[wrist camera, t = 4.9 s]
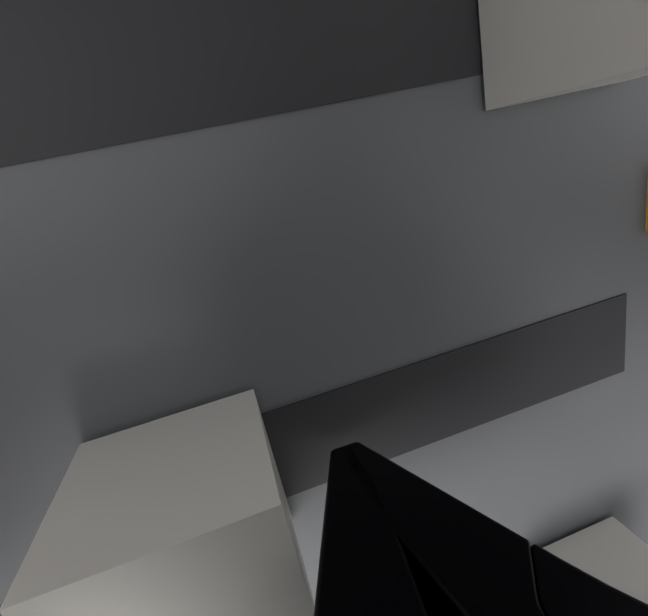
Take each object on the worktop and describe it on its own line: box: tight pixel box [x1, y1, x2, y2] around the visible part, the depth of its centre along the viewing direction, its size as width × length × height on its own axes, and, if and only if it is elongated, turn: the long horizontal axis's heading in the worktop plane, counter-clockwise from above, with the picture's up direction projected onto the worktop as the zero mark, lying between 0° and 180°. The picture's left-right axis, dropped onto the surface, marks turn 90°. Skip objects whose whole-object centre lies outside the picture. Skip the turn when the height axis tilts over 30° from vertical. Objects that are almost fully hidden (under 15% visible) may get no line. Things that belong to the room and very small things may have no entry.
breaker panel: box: [0, 0, 648, 616], centre depth 9 cm, size 22×17×4 cm
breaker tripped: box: [0, 389, 315, 616], centre depth 6 cm, size 3×3×3 cm
